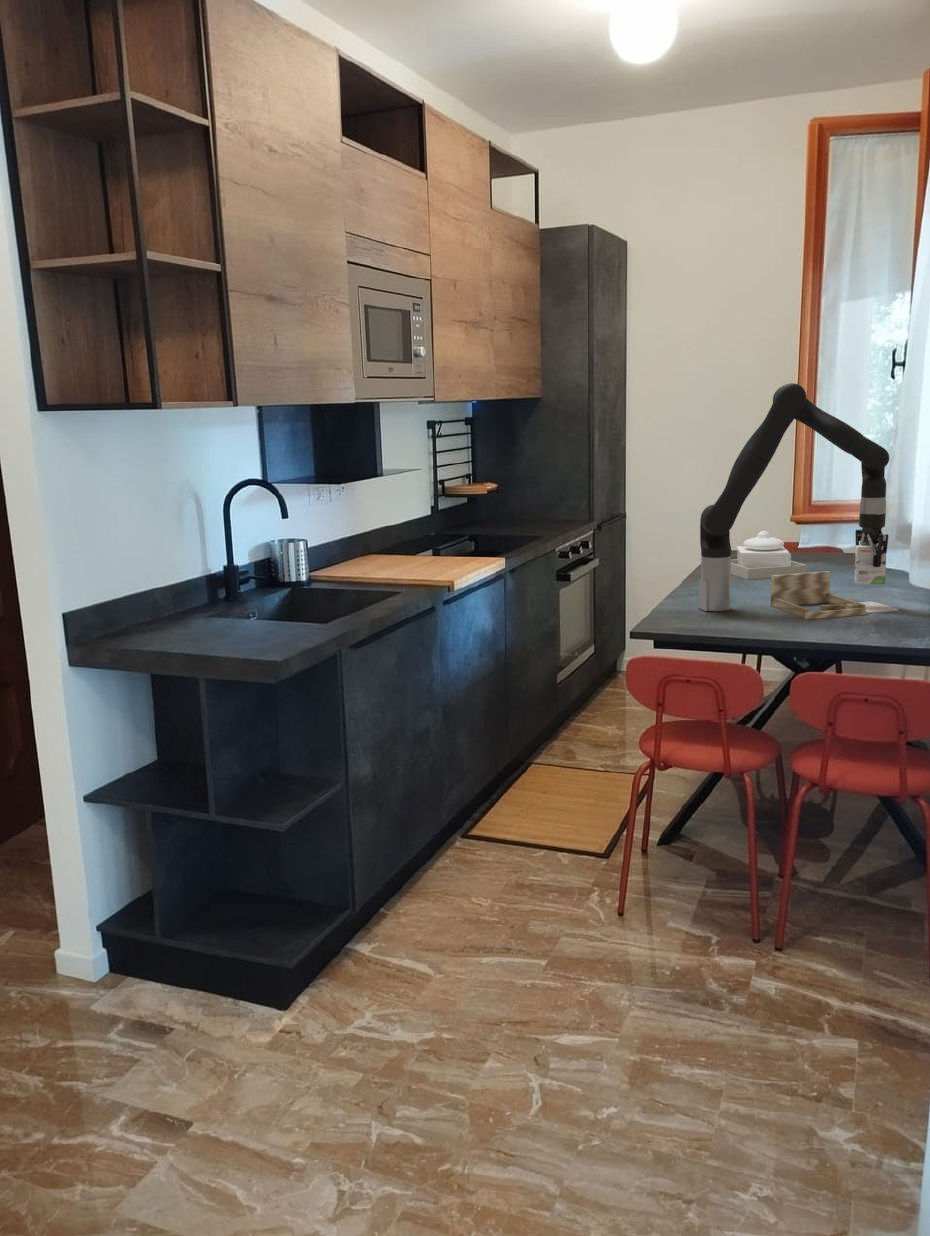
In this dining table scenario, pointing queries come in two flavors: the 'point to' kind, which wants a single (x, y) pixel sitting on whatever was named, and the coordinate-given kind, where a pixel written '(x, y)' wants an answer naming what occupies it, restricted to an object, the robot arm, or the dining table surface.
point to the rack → (808, 595)
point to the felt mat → (877, 607)
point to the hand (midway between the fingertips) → (870, 565)
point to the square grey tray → (766, 570)
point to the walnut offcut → (832, 607)
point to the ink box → (868, 566)
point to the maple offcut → (852, 606)
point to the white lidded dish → (763, 552)
